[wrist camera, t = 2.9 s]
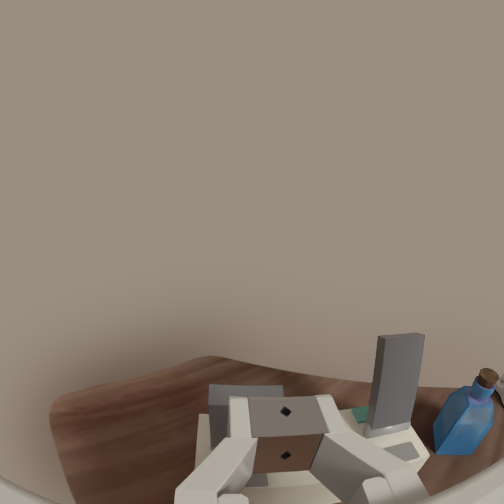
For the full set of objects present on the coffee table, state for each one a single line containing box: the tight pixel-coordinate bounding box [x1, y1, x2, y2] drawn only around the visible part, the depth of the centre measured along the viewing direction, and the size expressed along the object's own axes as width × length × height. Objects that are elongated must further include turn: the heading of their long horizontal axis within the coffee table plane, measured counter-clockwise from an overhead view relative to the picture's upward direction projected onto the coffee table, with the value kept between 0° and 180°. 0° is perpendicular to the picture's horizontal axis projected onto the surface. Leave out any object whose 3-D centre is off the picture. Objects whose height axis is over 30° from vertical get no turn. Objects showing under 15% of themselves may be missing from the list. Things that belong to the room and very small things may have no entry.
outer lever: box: [208, 384, 284, 450], centre depth 21 cm, size 5×2×11 cm, turn 94°
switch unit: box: [195, 406, 430, 504], centre depth 26 cm, size 24×10×6 cm, turn 94°
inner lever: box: [363, 333, 425, 439], centre depth 26 cm, size 5×2×11 cm, turn 94°
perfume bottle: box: [433, 368, 499, 455], centre depth 27 cm, size 6×6×12 cm
